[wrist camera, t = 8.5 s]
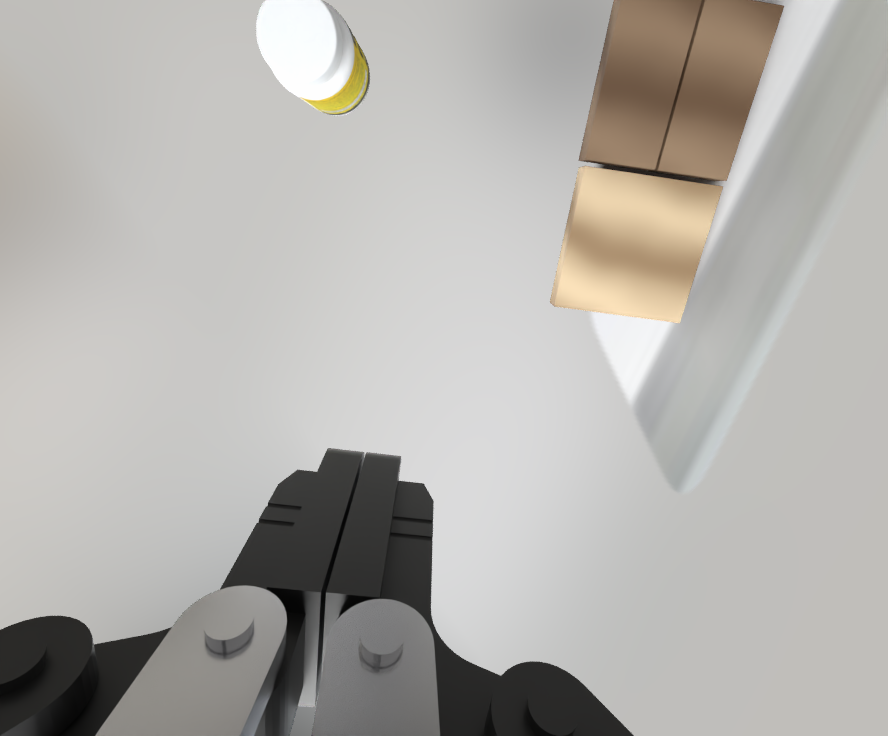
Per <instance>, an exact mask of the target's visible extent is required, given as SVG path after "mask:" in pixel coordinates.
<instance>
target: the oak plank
mask: <svg viewBox="0 0 888 736" xmlns="http://www.w3.org/2000/svg"><path fill="white" fill-rule="evenodd" d="M722 189H723V187H722V186H715V185H709V184H702V183H695V182H689V181H682V180H676V179H669V178H662V177H656V176H649V175H642V174H636V173H629V172H622V171H616V170H609V169H603V168H596V167H589V166H583V167H579V169H578V174H577V179H576V183H575V188H574V192H573V197H572V202H571V207H570V212H569V216H568V220H567V225H566V230H565V234H564V239H563V244H562V248H561V253H560V257H559V262H558V267H557V271H556V276H555V280H554V286H553V290H552V295H551V299H550V303H551V304H552V305H554V306H555V307H563V308H571V309H578V310H585V311H593V312H600V313H608V314H615V315H623V316H630V317H638V318H645V319H653V320H660V321H668V322H675V323H680V321H681V318H682V315H683V311H684V308H685V305H686V302H687V299H688V296H689V292H690V289H691V286H692V283H693V280H694V277H695V274H696V270H697V267H698V264H699V261H700V258H701V255H702V252H703V248H704V245H705V242H706V239H707V236H708V233H709V230H710V226H711V223H712V220H713V217H714V214H715V211H716V207H717V204H718V201H719V198H720V195H721V192H722Z"/></svg>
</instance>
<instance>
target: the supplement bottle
mask: <svg viewBox="0 0 888 736" xmlns="http://www.w3.org/2000/svg"><path fill="white" fill-rule="evenodd" d="M256 35H257V41H258V45H259V48H260V51H261V53H262V55H263V57H264V59H265V61H266V62H267V64H268V65H269V66H270V67H271V69H272V71H273V73H274V75H275V76H276V78H277V79H278V81H280V83H281V84H282V85H283V86H284V87H285V88H286V89H287V90H289V91H290V92H291V93H293V94H295V95H296V96H298V97H299V98H301V99H302V100H304V101H305V102H307V103H308V104H310V105H311V106H312V107H314V108H315V109H317V110H318V111H321V112H322V113H325V114H328V115H333V116H342V115H346V114H348V113H351V112H353V111H354V110H356V109H357V108H358V107H359V106H360V105H361V103H362V102H363V101H364V99H365V97H366V95H367V91H368V89H369V83H370V73H369V66H368V63H367V60H366V57H365V55H364V53H363V52H362V49H361V48H360V46H359V44H358V43H357V41H356V39H355V37H354V36H353V34H352V32H351V30H350V28H349V27H348V25H347V24H346V22H345V20H344V19H343V18H342V16H341V15H340V14H339V13H338V12H337V11H336V10H335V9H334V8H333V7H332V6H330V5H329V4H328V3H326V2H324V1H322V0H265V1H264V2H263V4H262V5H261V8H260V10H259V13H258V16H257V24H256Z"/></svg>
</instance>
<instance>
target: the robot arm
mask: <svg viewBox="0 0 888 736" xmlns="http://www.w3.org/2000/svg"><path fill="white" fill-rule="evenodd" d="M400 463H401V456H393V455H385V454H377V453H366V455H365V458H364V452H358V451H349V450H340V449H331V448H328V449H327V451H326V453H325V456H324V458H323V460H322V462H321V465H320V467H319V469H318V472H313V471H304V470H297V471H296V472H294V473H293V474H291V475H290V476H289V477H288V478H286V479H285V480H283V481H282V482H281V483H280V484H278V486H277V488H276V490H275V491H274V493H273V495H272V497H271V499H270V500H269V502H268V506H267V507H266V508H265V510H264V511H263V513H262V515H261V517H260V518H259V523H257V524H256V526H255V527H254V529H253V531H252V533H251V535H250V536H249V538H248V540H247V542H246V544H245V546H244V547H243V549H242V551H241V553H240V554H239V556H238V558H237V560H236V562H235V563H234V565H233V567H232V569H231V571H230V573H229V574H228V576H227V578H226V580H225V582H224V583H223V585H222V587H221V589H220V590H217V591H215V592H213V593H210V594H208V595H206V596H204V597H203V598H201V599H199V600H198V601H197V602H195V603H194V604H192V605H191V606H190V607H189V608H188V609H187V610H186V611H184V612H183V613H182V615H181V616H180V617H179V619H178V620H177V621H176V622H175V624H174V625H173V626H172V627H171V628H168V629H165V630H163V631H160V632H156V633H152V634H148V635H143V636H138V637H132V638H127V639H121V640H116V641H111V642H105V643H100V644H95V645H94V644H93V638H92V635H91V633H90V630H89V629H88V627H87V626H86V625H85V624H84V623H82V622H80V621H79V620H77V619H74V618H71V617H65V616H46V617H39V618H34V619H30V620H25V621H22V622H19V623H16V624H14V625H11V626H8V627H6V628H4V629H1V630H0V736H290V732H291V729H292V725H293V721H294V718H295V714H296V710H297V707H298V706H306V707H315V705H316V701H317V706H316V711H315V717H314V723H313V729H312V735H311V736H633V735H632V734H631V733H630V731H629V730H628V729H627V728H626V727H624V725H623V724H622V723H621V722H620V721H619V720H618V719H617V718H616V717H615V716H614V715H613V714H612V713H611V712H610V711H609V710H608V709H607V708H606V707H605V706H604V705H603V704H602V703H601V702H600V701H599V700H598V699H597V698H596V697H595V696H594V695H593V694H592V693H591V692H590V691H589V690H588V689H587V688H586V687H585V686H584V685H583V684H582V683H581V682H580V681H579V680H578V679H576V678H575V677H574V676H572V675H571V674H570V673H568V672H566V671H565V670H563V669H561V668H559V667H557V666H554V665H551V664H548V663H543V662H524V663H520V664H517V665H515V666H513V667H511V668H510V669H508V670H507V671H506V672H505V673H504V674H503V675H502V676H500V675H497V674H495V673H493V672H490V671H488V670H486V669H483V668H481V667H479V666H477V665H474V664H472V663H470V662H468V661H466V660H464V659H462V658H461V657H460V656H458V655H456V654H455V653H454V652H453V651H452V650H451V649H449V647H447V645H446V644H445V643H444V642H443V641H442V639H441V638H440V636H439V635H438V633H437V631H436V629H435V627H434V624H433V621H432V617H431V574H432V536H433V535H432V534H433V533H432V532H433V499H432V498H431V496H430V494H429V492H428V491H427V489H426V487H425V486H424V484H422V483H413V482H404V481H398V480H399V472H400ZM318 693H319V694H318ZM317 697H318V700H317Z"/></svg>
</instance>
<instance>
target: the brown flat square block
mask: <svg viewBox="0 0 888 736" xmlns="http://www.w3.org/2000/svg"><path fill="white" fill-rule="evenodd" d="M783 8H784V6H782V5H776V4H771V3H765V2H759V1H753V0H614V2H613V7H612V11H611V15H610V21H609V24H608V29H607V34H606V38H605V43H604V47H603V52H602V56H601V61H600V66H599V70H598V74H597V79H596V84H595V88H594V93H593V98H592V102H591V107H590V111H589V115H588V120H587V125H586V129H585V134H584V138H583V143H582V147H581V152H580V156H579V161H585V162H591V163H598V164H604V165H611V166H618V167H624V168H631V169H637V170H644V171H647V170H648V171H651V172H657V173H664V174H670V175H677V176H684V177H690V178H697V179H704V180H710V181H727V178H728V175H729V172H730V169H731V166H732V163H733V160H734V157H735V154H736V151H737V148H738V144H739V141H740V138H741V135H742V132H743V129H744V126H745V123H746V120H747V117H748V114H749V111H750V108H751V105H752V102H753V99H754V96H755V93H756V90H757V87H758V84H759V81H760V78H761V75H762V72H763V69H764V66H765V63H766V60H767V57H768V54H769V51H770V48H771V44H772V41H773V38H774V35H775V32H776V29H777V26H778V23H779V20H780V17H781V14H782V11H783Z"/></svg>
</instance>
